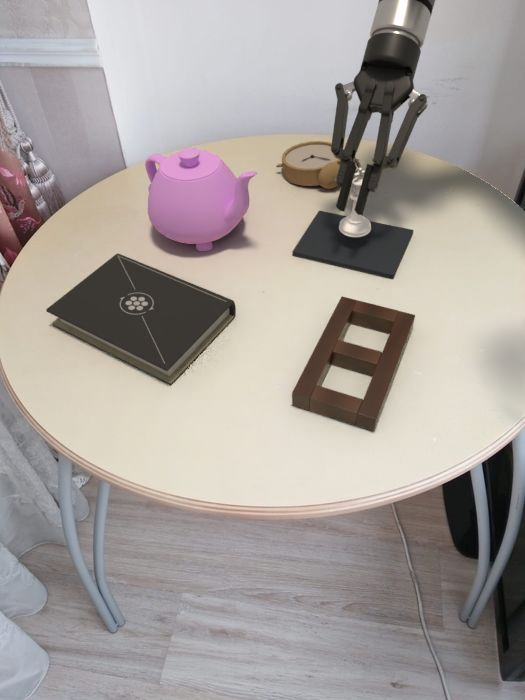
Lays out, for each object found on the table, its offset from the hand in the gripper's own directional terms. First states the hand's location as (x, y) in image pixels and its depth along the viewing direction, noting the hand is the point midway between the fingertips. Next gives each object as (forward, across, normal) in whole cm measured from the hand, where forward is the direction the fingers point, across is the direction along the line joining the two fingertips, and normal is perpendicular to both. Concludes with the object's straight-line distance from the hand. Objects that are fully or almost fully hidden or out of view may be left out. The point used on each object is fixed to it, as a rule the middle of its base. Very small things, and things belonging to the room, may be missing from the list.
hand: (349, 210), depth 80 cm
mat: (+3, 0, -9) cm, 9 cm away
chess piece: (+1, 0, -7) cm, 7 cm away
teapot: (+7, +24, -5) cm, 26 cm away
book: (+23, +22, +10) cm, 33 cm away
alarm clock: (-9, +12, -22) cm, 26 cm away
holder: (+20, -8, +8) cm, 23 cm away
